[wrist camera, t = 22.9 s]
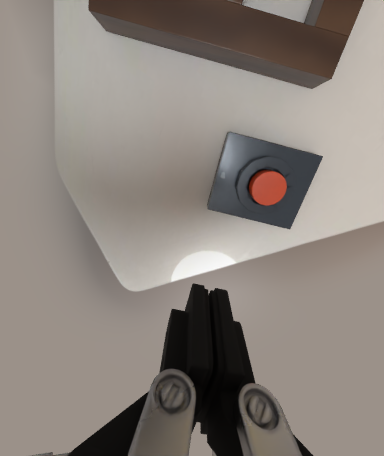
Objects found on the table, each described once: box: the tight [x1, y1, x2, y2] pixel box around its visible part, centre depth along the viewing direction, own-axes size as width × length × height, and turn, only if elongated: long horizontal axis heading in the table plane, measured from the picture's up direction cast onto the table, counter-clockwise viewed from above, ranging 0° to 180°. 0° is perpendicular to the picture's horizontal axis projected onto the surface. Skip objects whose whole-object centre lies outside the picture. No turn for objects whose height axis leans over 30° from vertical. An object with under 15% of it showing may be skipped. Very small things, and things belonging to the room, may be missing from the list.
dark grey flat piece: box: [207, 132, 323, 229], centre depth 27 cm, size 12×10×4 cm
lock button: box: [249, 170, 287, 205], centre depth 25 cm, size 4×4×2 cm
